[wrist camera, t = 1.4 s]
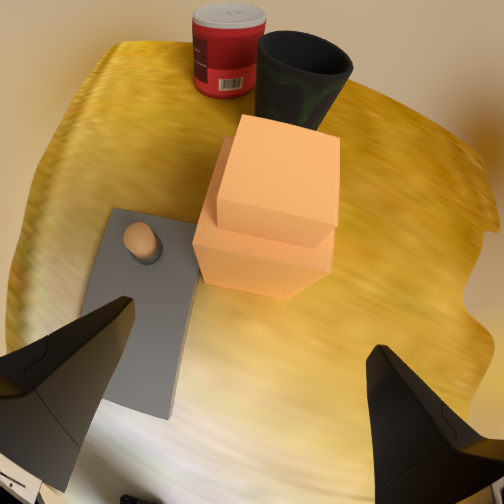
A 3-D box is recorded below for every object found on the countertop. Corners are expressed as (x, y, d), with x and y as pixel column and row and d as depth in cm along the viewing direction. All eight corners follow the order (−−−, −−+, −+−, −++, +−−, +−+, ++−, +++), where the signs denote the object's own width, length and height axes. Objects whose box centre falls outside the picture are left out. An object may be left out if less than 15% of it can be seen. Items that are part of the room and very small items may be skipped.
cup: (270, 108, 29) (290, 24, 18) (325, 141, 28) (365, 60, 17) (229, 143, 27) (236, 46, 15) (290, 183, 26) (330, 90, 15)
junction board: (171, 415, 18) (159, 432, 14) (77, 381, 18) (51, 387, 14) (210, 233, 23) (207, 210, 19) (118, 214, 23) (101, 191, 19)
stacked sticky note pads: (285, 300, 22) (358, 254, 10) (205, 283, 22) (184, 216, 10) (296, 226, 25) (357, 130, 12) (222, 210, 24) (226, 98, 12)
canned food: (266, 81, 31) (280, 13, 20) (229, 109, 28) (235, 29, 18) (221, 62, 31) (225, -2, 21) (182, 87, 29) (176, 15, 19)
